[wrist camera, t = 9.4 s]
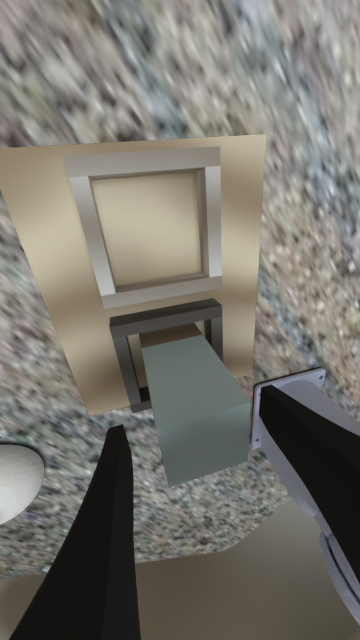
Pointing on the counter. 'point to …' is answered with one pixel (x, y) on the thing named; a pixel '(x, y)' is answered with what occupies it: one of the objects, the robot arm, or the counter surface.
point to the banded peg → (194, 404)
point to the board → (140, 250)
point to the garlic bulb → (18, 479)
